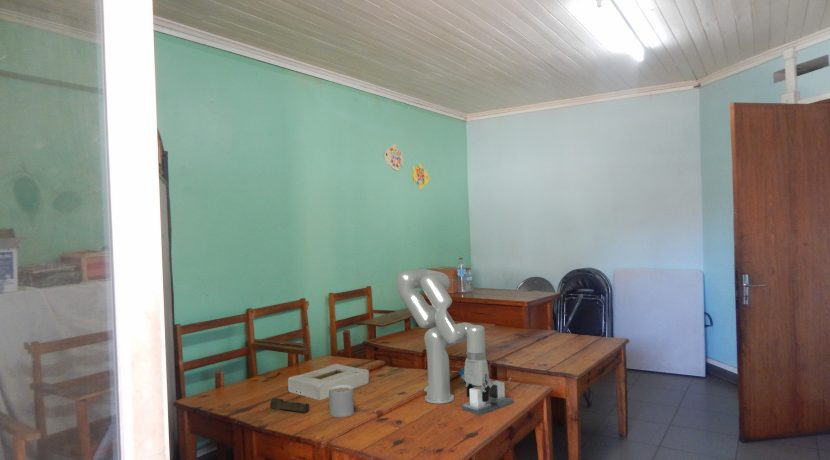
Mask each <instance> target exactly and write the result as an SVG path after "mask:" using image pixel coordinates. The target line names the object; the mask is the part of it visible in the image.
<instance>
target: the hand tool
mask: <svg viewBox="0 0 830 460" xmlns="http://www.w3.org/2000/svg"><path fill="white" fill-rule="evenodd" d="M269 405H270V409H272V410H277V411H282V410H283V411H292V412H298V413H303V414H304V415H305V414H307V413H309V411H310V404H309V403H308V402H306V403H303V402H302V403H301V402H292V401H286V400H284V399H283V398H278V397H276V398H275V397H273V398H272V399H271V400H270V404H269Z"/></svg>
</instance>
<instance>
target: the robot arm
mask: <svg viewBox="0 0 830 460" xmlns="http://www.w3.org/2000/svg"><path fill="white" fill-rule="evenodd" d="M450 286H451V280H450V278H449V276H448V275H447V274H445V273H444V272H442V271H437V270H432V269H428V268H427V269H426V268H419V269H410V270H405V271H402V272H401V273H399V275H397V277H396V281H395V288H396V290H397V291H396V292H397V294H398V295H399V297H400V298H401V300H402V301H403V302H404V304H405V306H406V307H407V308H408V310H409V312H410V314H411V316H412V317H413V319H414V320H415V323H417V325H418V326H419V327H420V328H421V329H427V330H426V331H425V333H424V337H423V339H424V345H425V346H424V347H425V350H426V362H427V364H426V365H427V385H426V386H425V387H424V389H423V391H424V392H426V395H425V396H424V400H425V401H426V402H428V403H430V404H439V405H440V404H441V405H442V404H447V403H451V402H453V401H454V399H455V396H454V394H452V393H451V383H450V382H451V381H450V378H451V377H450V376H451V375H450V358H449V354H448V352H447V350H446V348H448V347H451V346H454V345H457V344H458V343H462V342H466V352H465V353H466V358H465V362H464V367H463V368H464V370H463V372H464V374H463V373H462V374H463V375H461V376H462V378H463V379H462V380H463V381H464V386H465V388H466V398H470V390H469V389H471V388H474V386H475V387H480V388H482V390H483V392H482V401H483V402H486V401H488V400H489V391H490V389H491V388H492V386H493V380H492V379H491V378H490V376H489V375H490V373H489V365H488V361H487V359H486V358H487V355H486V333H485V331H486V330H485V327H484V326H483V325H481V324H480V325H479V324H472V323H470V322H459V323H455V321H454V320H453V318H452V316H451V315H450V313H449V312H448V310H447V309H449V308H450V306H451V305H452V303H453V299H452V297H451V296H450V294H449V293H448V289H449V288H450ZM419 288H420V289H422V291H423V292H424V295H426V297H427V299H428V300H429V302H430V304H431V305H430V304H428V302H427V301H426V299H425V297H424V296H423V295H422V294H421V293H420V292H419V291H417V290H416V289H419ZM463 381H462V382H463ZM472 384H473V385H474V386H472Z"/></svg>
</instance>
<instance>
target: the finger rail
mask: <svg viewBox="0 0 830 460" xmlns="http://www.w3.org/2000/svg"><path fill="white" fill-rule="evenodd" d="M492 382H493V386H492V388H491V389H490V391H488V392H489V400H488V401H486V405H483V406H480V407H475V406H472V405H470V401H467V402H464V403H463V405H461V410H463V411H464V412H468V413H471V414H473V415H477V416H482V415H485V414H487V413H491V412H493V411H496V410H499V409H501V408H504V407H506V406H509V405H512V404H514V398H510V397H506V394H505V390H506V389H505V382H504V381H501V380H492Z"/></svg>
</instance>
